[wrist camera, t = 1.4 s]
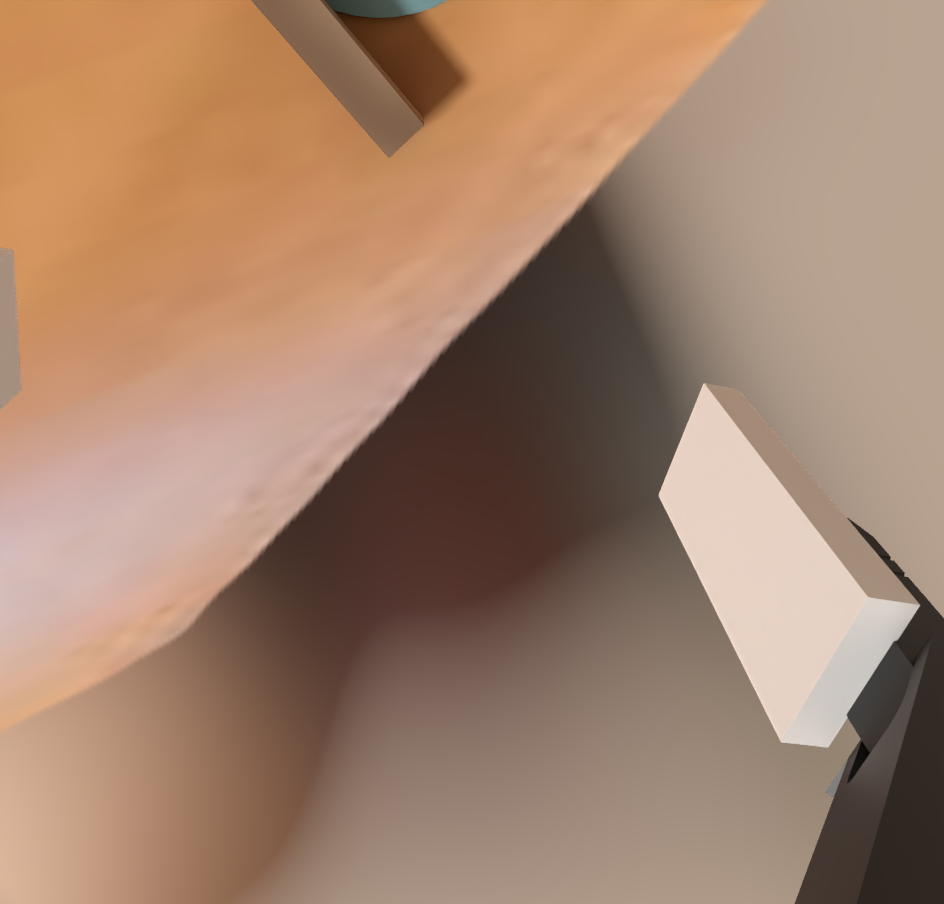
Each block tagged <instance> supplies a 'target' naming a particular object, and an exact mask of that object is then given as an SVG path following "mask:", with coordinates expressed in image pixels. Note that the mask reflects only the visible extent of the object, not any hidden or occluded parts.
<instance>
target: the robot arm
mask: <svg viewBox="0 0 944 904" xmlns="http://www.w3.org/2000/svg"><path fill="white" fill-rule="evenodd" d="M20 391H21V374H20V357H19V339H18V321H17V303H16V285H15V268H14V250H11V249H6V248H1V247H0V410H1V409H2V408H3V407H4V406H5V405H6V404H7V403H8V402H9V401H10V400H11V399H12V398H13V397H14V396H15V395H16V394H17V393H19V392H20ZM659 497H660V499H661V501H662V503H663V506H664V508H665V509H666V511H667V514H668V515H669V518H670V519H671V522H672V524H673V525H674V528H675V529H676V531H677V534H678V536H679V538H680V540H681V542H682V544H683V546H684V548H685V550H686V552H687V554H688V556H689V558H690V560H691V562H692V564H693V566H694V568H695V570H696V572H697V574H698V576H699V578H700V580H701V582H702V584H703V586H704V588H705V590H706V592H707V594H708V596H709V598H710V600H711V602H712V604H713V606H714V608H715V610H716V612H717V614H718V616H719V618H720V620H721V622H722V624H723V626H724V628H725V630H726V632H727V634H728V636H729V638H730V640H731V642H732V644H733V647H734V648H735V650H736V653H737V654H738V657H739V659H740V661H741V663H742V664H743V667H744V668H745V671H746V673H747V675H748V677H749V679H750V681H751V683H752V685H753V687H754V689H755V691H756V693H757V695H758V697H759V699H760V701H761V703H762V705H763V707H764V709H765V711H766V713H767V715H768V717H769V719H770V721H771V723H772V725H773V727H774V729H775V731H776V733H777V735H778V737H779V739H780V741H781V742H785V743H793V744H802V745H811V746H819V747H820V746H821V747H829V745H830V744H831V742H832V741H833V739H834V738H835V736H836V735H837V733H838V731H839V730H840V728H841V727H842V725H843V724H844V722H845V721H846V719H847V718H848V719H849V720H850V722H851V723H852V725H853V727H854V728H855V730H856V732H857V733H858V735H859V737H860V738H861V740H860V741H859V743H858V744H857V746H856V747H855V749H854V751H853V752H852V753H851V755H850V756H849V758H848V759H847V761H846V762H845V764H844V765H843V767H842V768H841V770H840V771H839V773H838V774H837V776H836V777H835V779H834V780H833V782H832V783H831V785H830V786H829V787H828V789H827V791H826V793H827V794H829V795H831V796H832V797H833V796H834V795H835V796H834V799H833V801H832V804H831V807H830V810H829V812H828V815H827V818H826V820H825V823H824V826H823V828H822V831H821V834H820V837H819V839H818V842H817V845H816V847H815V850H814V853H813V855H812V858H811V861H810V864H809V866H808V869H807V872H806V874H805V877H804V880H803V882H802V885H801V888H800V891H799V894H798V896H797V899H796V902H795V904H944V618H943V617H942V616H941V615H940V613H939V612H938V611H937V610H936V609H935V608H934V606H933V605H931V603H930V602H929V601H928V600H927V598H926V597H925V596H924V595H923V594H922V593H921V592H920V590H919V589H918V588H917V587H916V586H915V585H914V584H913V582H912V581H911V580H910V579H909V578H908V577H904V572H903V571H902V569H900V567H899V566H898V565H897V564H896V563H895V562H894V561H891V560H890V558H891V557H890V556H889V554H888V553H887V552H886V551H885V550H884V549H883V548H882V546H881V545H880V544H879V543H878V542H877V541H876V539H875V538H874V537H873V536H871V535H870V534H869V533H867V532H866V531H864V530H863V529H862V528H861V527H859V526H858V525H856V524H855V523H854V522H853V521H851V520H850V519H849V518H846V516H845V515H844V514H843V513H842V512H841V511H840V509H839V508H838V507H837V506H836V505H835V503H834V502H833V501H832V500H831V499H830V497H829V496H828V495H827V494H826V493H825V492H824V490H823V489H822V488H821V487H820V486H819V484H818V483H817V482H816V481H815V480H814V479H813V477H812V476H811V475H810V474H809V473H808V471H807V470H806V469H805V468H804V467H803V465H802V464H801V463H800V462H799V461H798V460H797V458H796V457H795V456H794V455H793V454H792V453H791V451H790V450H789V449H788V448H787V447H786V445H785V444H784V443H783V442H782V441H781V439H780V438H779V437H778V436H777V435H776V434H775V432H774V431H773V430H772V429H771V428H770V426H769V425H768V424H767V423H766V422H765V421H764V419H763V418H762V417H761V416H760V415H759V413H758V412H757V411H756V410H755V409H754V407H753V406H752V405H751V404H750V403H749V402H748V401H747V399H746V398H745V397H744V396H743V395H742V393H741V392H740V391H739V390H737V389H732V388H727V387H722V386H717V385H712V384H706V383H704V384H703V387H702V389H701V392H700V394H699V397H698V399H697V401H696V404H695V406H694V409H693V411H692V414H691V416H690V419H689V421H688V424H687V426H686V429H685V431H684V434H683V436H682V438H681V441H680V443H679V446H678V448H677V451H676V453H675V456H674V458H673V461H672V463H671V466H670V468H669V471H668V473H667V476H666V478H665V480H664V483H663V486H662V488H661V490H660V493H659Z"/></svg>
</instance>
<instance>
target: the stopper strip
mask: <svg viewBox="0 0 944 904" xmlns="http://www.w3.org/2000/svg"><path fill="white" fill-rule="evenodd" d="M252 2H253V3H254V4H255V5H256V6H257V7H258V9H259V10H260V11H261V12H262V13H263V14H264V15H265V17H266V18H267V19H268V20H269V21H270V22H271V23H272V25H273V26H274V27H275V28H276V29H277V30H278V31H279V33H280V34H281V35H282V36H283V37H284V38H285V39H286V41H287V42H288V43H289V44H290V45H291V46H292V47H293V49H294V50H295V51H296V52H297V53H298V54H299V56H300V57H301V58H302V59H303V60H304V61H305V62H306V64H307V65H308V66H309V67H310V68H311V69H312V70H313V72H314V73H315V74H316V75H317V76H318V77H319V78H320V80H321V81H322V82H323V83H324V84H325V85H326V86H327V88H328V89H329V90H330V91H331V92H332V93H333V94H334V96H335V97H336V98H337V99H338V100H339V101H340V102H341V104H342V105H343V106H344V107H345V108H346V109H347V111H348V112H349V113H350V114H351V115H352V116H353V117H354V119H355V120H356V121H357V122H358V123H359V124H360V125H361V127H362V128H363V129H364V130H365V131H366V132H367V133H368V135H369V136H370V137H371V138H372V139H373V140H374V141H375V143H376V144H377V145H378V146H379V147H380V148H381V149H382V151H383V152H384V153H385V154H386V155H387V156H388V158H390V157H391V156H392V155H393V154H394V153H395V152H396V151H397V150H398V149H399V148H400V147H401V146H402V145H403V144H404V143H406V142H407V141H408V140H409V139H410V138H411V137H412V136H413V135H414V134H415V133H416V132H417V131H418V130H419V129H420V128H421V127H422V126H423V125H424V122H423V117H422V116H421V114H420V113H419V112H418V111H417V110H416V108H415V107H414V106H413V105H412V103H411V102H410V101H409V100H408V99H407V97H406V96H405V95H404V94H403V93H402V91H401V90H400V89H399V88H398V87H397V85H396V84H395V83H394V82H393V81H392V79H391V78H390V77H389V76H388V74H387V73H386V72H385V71H384V70H383V68H382V67H381V66H380V65H379V64H378V62H377V61H376V60H375V59H374V58H373V56H372V55H371V54H370V53H369V51H368V50H367V49H366V48H365V47H364V45H363V44H362V43H361V42H360V41H359V39H358V38H357V37H356V36H355V35H354V33H353V32H352V31H351V30H350V29H349V27H348V26H347V25H346V24H345V22H344V21H343V20H342V19H341V18H340V16H339V15H338V14H337V13H336V12H335V10H333V8H332V7H331V6H330V5H329V4H328V2H327V1H326V0H252Z"/></svg>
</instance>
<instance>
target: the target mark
mask: <svg viewBox="0 0 944 904" xmlns="http://www.w3.org/2000/svg"><path fill="white" fill-rule="evenodd" d="M326 1H327V2H328V4H329V5H330V6H331V7H332V8H333V10H335V11H339V12H342V13H346V14H350V15H354V16H362V17H371V18H387V17H399V16H404V15H410V14H415V13H418V12H421V11H424V10H426V9H429V8H432V7H435V6H437V5H439V4H441V3H442V2H444V1H446V0H326Z"/></svg>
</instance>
